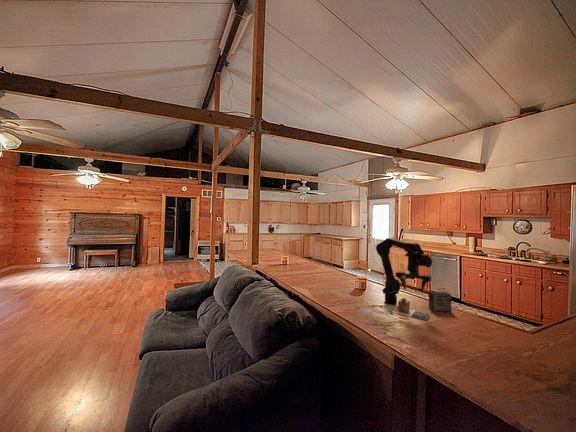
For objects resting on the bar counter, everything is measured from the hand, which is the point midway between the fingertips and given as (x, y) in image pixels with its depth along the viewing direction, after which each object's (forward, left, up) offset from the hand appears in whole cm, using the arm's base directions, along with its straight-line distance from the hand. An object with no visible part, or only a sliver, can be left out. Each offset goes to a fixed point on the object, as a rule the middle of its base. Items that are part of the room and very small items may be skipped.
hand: (413, 290), depth 152 cm
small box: (+11, +15, -13) cm, 23 cm away
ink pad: (+5, -5, -12) cm, 14 cm away
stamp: (-4, -3, -12) cm, 13 cm away
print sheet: (-4, -3, -12) cm, 14 cm away
